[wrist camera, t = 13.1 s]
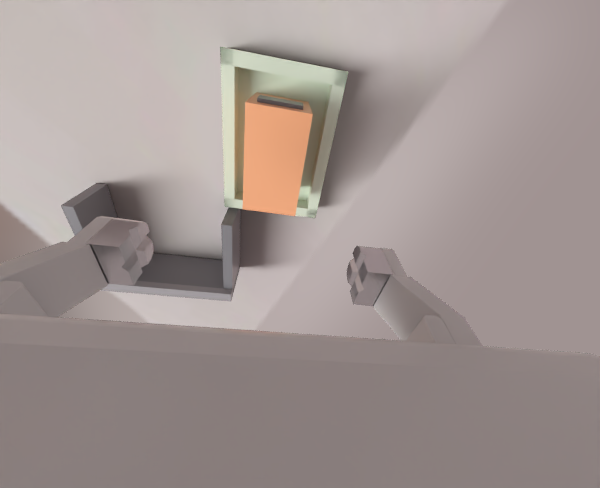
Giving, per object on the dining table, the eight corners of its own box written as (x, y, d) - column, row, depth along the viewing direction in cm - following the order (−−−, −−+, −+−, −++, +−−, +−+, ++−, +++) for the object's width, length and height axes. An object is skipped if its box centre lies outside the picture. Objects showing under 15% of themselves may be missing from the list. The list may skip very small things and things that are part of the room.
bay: (96, 183, 26) (53, 210, 21) (240, 201, 28) (230, 230, 23) (122, 256, 32) (93, 289, 27) (239, 267, 34) (231, 301, 29)
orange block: (256, 88, 21) (245, 97, 16) (309, 98, 21) (313, 110, 16) (251, 181, 26) (242, 209, 21) (294, 187, 26) (295, 216, 21)
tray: (227, 47, 20) (220, 46, 18) (343, 70, 21) (348, 71, 19) (229, 196, 27) (224, 206, 25) (313, 207, 28) (315, 218, 26)
